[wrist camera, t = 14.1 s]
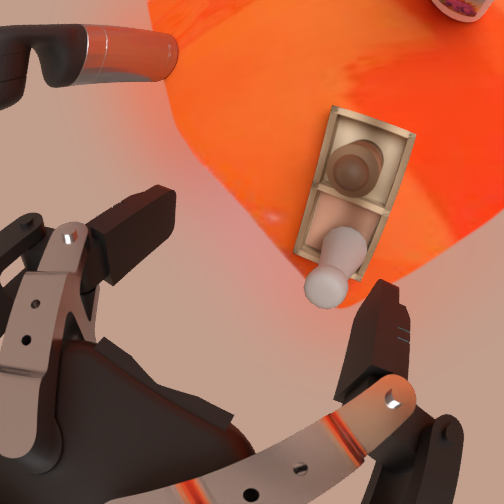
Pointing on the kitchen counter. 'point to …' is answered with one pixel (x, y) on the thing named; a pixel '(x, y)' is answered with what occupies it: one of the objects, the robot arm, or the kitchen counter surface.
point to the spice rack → (346, 208)
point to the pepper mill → (355, 168)
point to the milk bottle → (463, 8)
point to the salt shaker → (335, 267)
